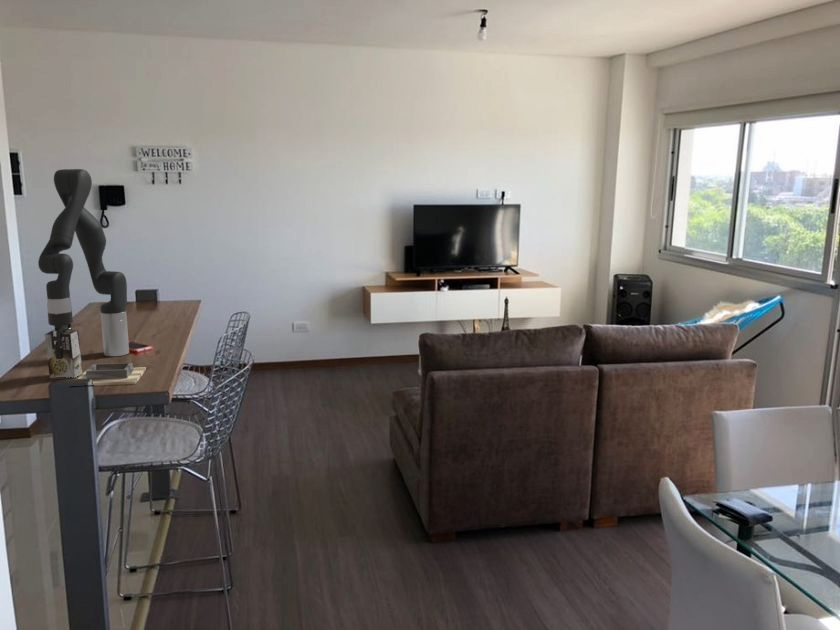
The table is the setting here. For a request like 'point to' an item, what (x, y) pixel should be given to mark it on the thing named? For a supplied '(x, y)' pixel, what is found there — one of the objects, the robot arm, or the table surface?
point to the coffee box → (65, 356)
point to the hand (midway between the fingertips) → (63, 355)
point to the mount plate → (113, 374)
